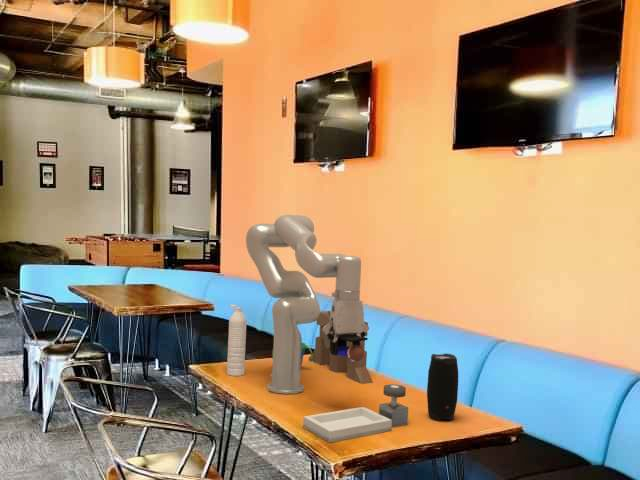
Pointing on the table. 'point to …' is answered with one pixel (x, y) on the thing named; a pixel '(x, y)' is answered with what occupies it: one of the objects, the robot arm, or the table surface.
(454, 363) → the portable speaker
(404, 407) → the block
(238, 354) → the water bottle
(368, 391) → the table surface
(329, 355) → the brown block wall
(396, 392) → the gray mushroom knob
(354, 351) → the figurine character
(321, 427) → the tray
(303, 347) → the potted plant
